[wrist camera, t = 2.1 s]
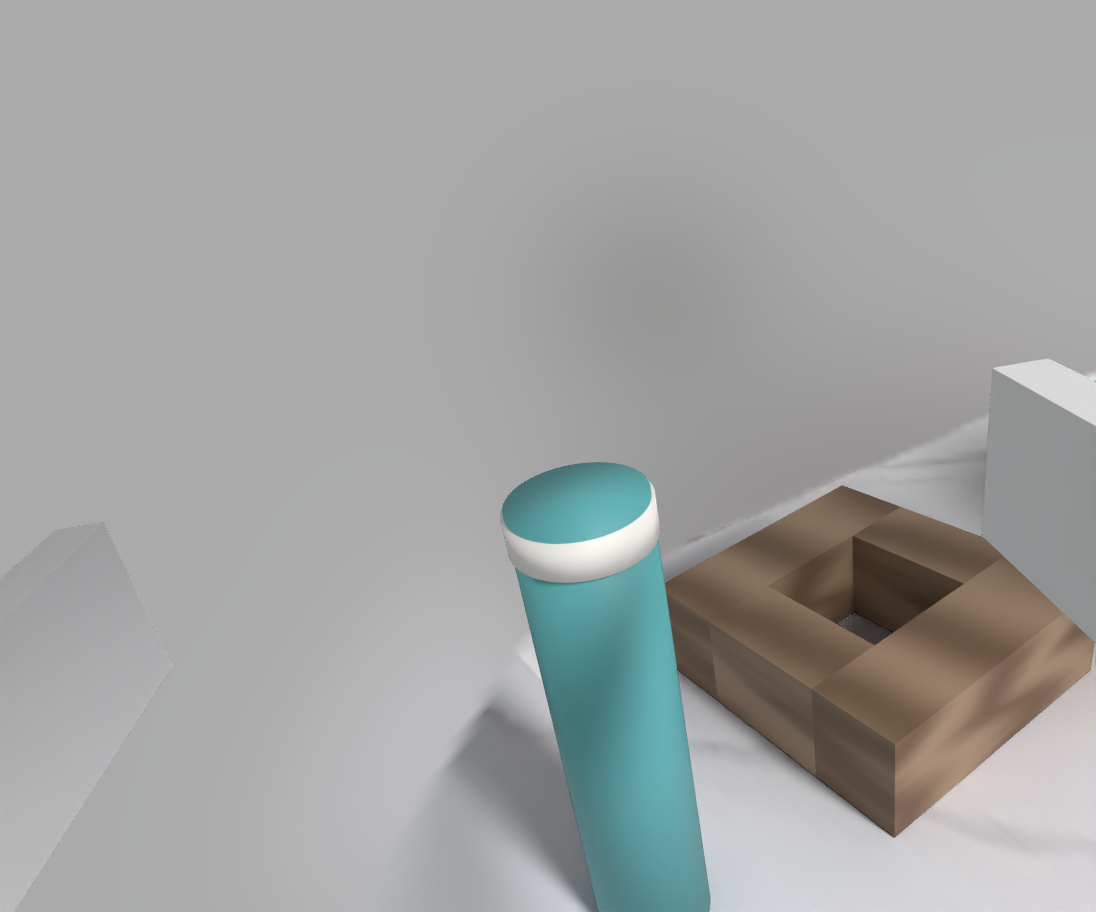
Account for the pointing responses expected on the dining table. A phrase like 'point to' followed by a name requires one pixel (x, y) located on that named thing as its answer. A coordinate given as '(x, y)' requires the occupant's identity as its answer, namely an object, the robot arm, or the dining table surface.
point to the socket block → (874, 648)
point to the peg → (611, 679)
